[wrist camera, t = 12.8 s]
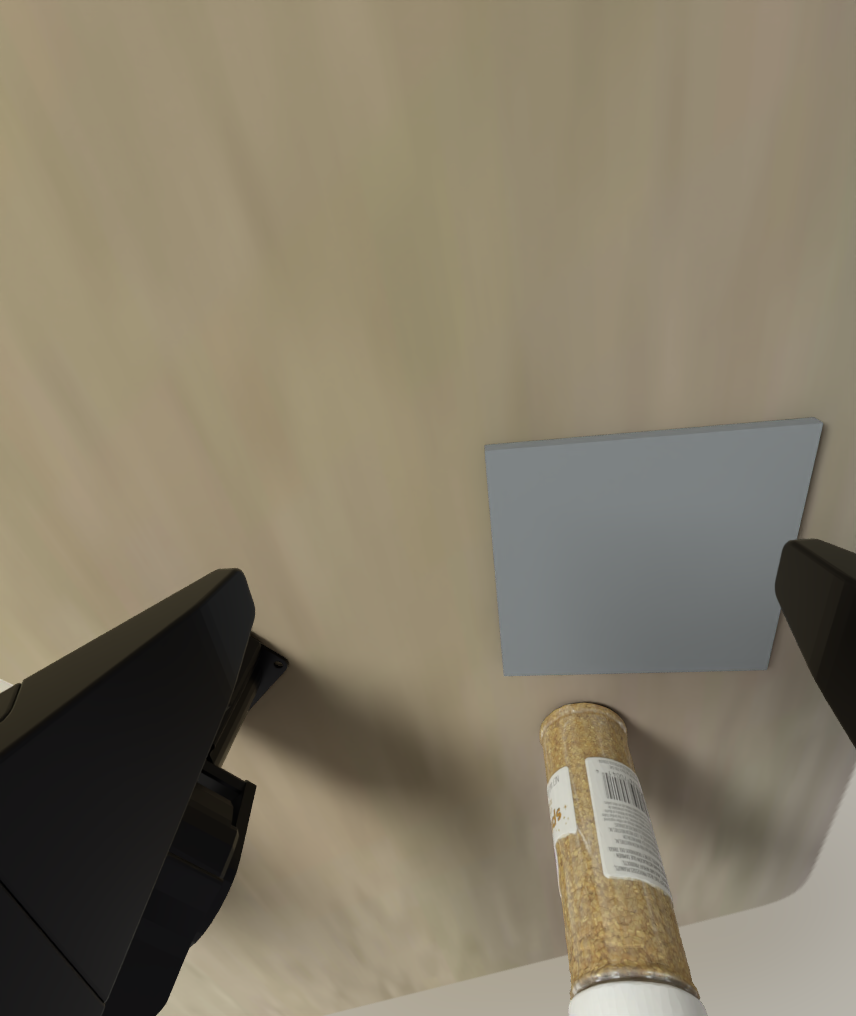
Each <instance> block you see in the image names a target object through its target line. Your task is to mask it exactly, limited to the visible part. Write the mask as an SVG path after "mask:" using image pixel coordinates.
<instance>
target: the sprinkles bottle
mask: <svg viewBox="0 0 856 1016" xmlns="http://www.w3.org/2000/svg"><path fill="white" fill-rule="evenodd" d="M540 743H541V745H542V746H543V750H544V759H545V766H546V775H547V784H548V786H547V795H548V802H549V810H550V818H551V825H552V834H553V842H554V851H555V860H556V868H557V876H558V885H559V892H560V897H561V900H562V906H563V915H564V922H565V935H566V943H567V950H568V958H569V970H570V973H571V984H572V986H571V991H570V996H571V998H570V999H571V1001H570V1004H569V1008H568V1011H569V1016H707V1013H706V1009H705V1007H704V1005H703V1004H702V1002H701V1001H700V1000H699V999H700V996H699V994H698V991H697V988H696V987H695V986H694V984H693V982H692V978H691V975H690V969H689V966H688V963H687V959H686V956H685V951H684V948H683V944H682V940H681V938H680V934H679V928H678V925H677V921H676V917H675V913H674V910H673V908H674V907H673V900H672V896H671V893H670V889H669V885H668V882H667V878H666V874H665V871H664V867H663V864H662V860H661V856H660V853H659V849H658V845H657V842H656V838H655V835H654V831H653V827H652V824H651V820H650V817H649V813H648V810H647V806H646V802H645V799H644V795H643V792H642V788H641V785H640V782H639V779H638V777H637V776H636V773H635V769H634V765H633V761H632V757H631V755H630V752H629V748H628V744H627V729H626V726H625V724H624V722H623V720H622V719H621V718H620V717H619V715H617V714H616V713H615V712H613V711H612V710H610V709H608V708H606V707H603V706H600V705H597V704H592V703H576V704H568V705H564V706H563V707H561V708H558V709H556V710H554V711H553V712H552V713H551V714H550V715H549V716H547V717H546V718H545V720H544V722H543V723H542V724H541V728H540Z"/></svg>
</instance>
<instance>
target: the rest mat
mask: <svg viewBox="0 0 856 1016" xmlns="http://www.w3.org/2000/svg"><path fill="white" fill-rule="evenodd" d="M822 427H823V423H822V422H821V421H819V420H818V419H816V418H815V417H812V418H800V419H788V420H776V421H765V422H753V423H741V424H729V425H717V426H705V427H693V428H681V429H669V430H658V431H646V432H634V433H622V434H610V435H598V436H586V437H574V438H562V439H551V440H539V441H527V442H515V443H503V444H491V445H485V461H486V472H487V484H488V496H489V507H490V519H491V531H492V543H493V554H494V566H495V578H496V589H497V601H498V613H499V624H500V636H501V648H502V659H503V671H504V676H530V675H573V674H616V673H660V672H703V671H746V670H767V667H768V663H769V659H770V654H771V650H772V645H773V641H774V637H775V632H776V628H777V624H778V619H779V615H780V610H781V607H780V605H779V602H778V600H777V598H776V594H775V579H776V575H777V570H778V566H779V561H780V557H781V552H782V549H783V546H784V545H785V543H786V542H788V541H789V540H796V539H797V536H798V532H799V527H800V523H801V519H802V514H803V510H804V505H805V501H806V497H807V492H808V488H809V484H810V479H811V475H812V470H813V466H814V462H815V457H816V453H817V448H818V444H819V440H820V435H821V431H822Z"/></svg>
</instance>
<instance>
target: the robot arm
mask: <svg viewBox="0 0 856 1016" xmlns="http://www.w3.org/2000/svg"><path fill="white" fill-rule="evenodd" d="M775 594H776V598H777V600H778V602H779V605H780V607H781V609H782V611H783V613H784V616H785V618H786V620H787V622H788V624H789V626H790V629H791V631H792V633H793V635H794V637H795V640H796V642H797V644H798V646H799V648H800V650H801V653H802V655H803V657H804V659H805V661H806V664H807V666H808V668H809V670H810V672H811V674H812V676H813V678H814V680H815V682H816V683H817V685H818V687H819V689H820V690H821V692H822V694H823V696H824V697H825V699H826V701H827V702H828V704H829V706H830V707H831V709H832V710H833V712H834V714H835V715H836V717H837V719H838V720H839V722H840V724H841V725H842V727H843V729H844V730H845V732H846V734H847V735H848V737H849V739H850V740H851V742H852V743H853V745H854V747H855V748H856V553H853V552H851V551H848V550H845V549H843V548H840V547H838V546H835V545H832V544H830V543H827V542H824V541H822V540H819V539H796V540H789V541H788V542H786V543H785V545H784V546H783V549H782V552H781V557H780V561H779V566H778V570H777V575H776V579H775ZM254 618H255V606H254V602H253V599H252V596H251V593H250V590H249V587H248V584H247V581H246V578H245V575H244V573H243V572H242V570H240V569H238V568H228V569H217V570H215V571H213V572H211V573H210V574H208V575H206V576H204V577H203V578H201V579H199V580H197V581H196V582H194V583H192V584H190V585H189V586H187V587H185V588H183V589H182V590H180V591H178V592H176V593H175V594H173V595H171V596H169V597H168V598H166V599H164V600H162V601H161V602H159V603H157V604H155V605H154V606H152V607H150V608H148V609H147V610H145V611H143V612H141V613H140V614H138V615H136V616H134V617H133V618H131V619H129V620H127V621H126V622H124V623H122V624H120V625H119V626H117V627H115V628H113V629H112V630H110V631H108V632H106V633H105V634H103V635H101V636H99V637H98V638H96V639H94V640H92V641H91V642H89V643H87V644H85V645H84V646H82V647H80V648H78V649H77V650H75V651H73V652H71V653H70V654H68V655H66V656H64V657H63V658H61V659H59V660H57V661H56V662H54V663H52V664H50V665H49V666H47V667H45V668H43V669H42V670H40V671H38V672H36V673H35V674H33V675H31V676H29V677H28V678H26V679H24V680H23V682H22V684H21V683H17V684H15V685H13V686H12V687H10V688H8V689H6V690H5V691H3V692H1V693H0V1016H156V1015H157V1014H158V1013H159V1012H160V1011H161V1010H162V1008H163V1007H164V1006H165V1004H166V1002H167V1001H168V998H169V996H170V993H171V991H172V988H173V986H174V984H175V981H176V979H177V976H178V974H179V971H180V969H181V966H182V964H183V962H184V959H185V957H186V955H187V952H188V950H189V948H190V947H191V946H192V945H193V944H195V943H196V942H197V941H198V940H199V938H200V937H201V936H202V935H203V934H204V932H205V931H206V930H207V928H208V927H209V925H210V924H211V923H212V921H213V919H214V918H215V916H216V914H217V913H218V911H219V909H220V908H221V906H222V904H223V902H224V900H225V898H226V896H227V894H228V892H229V890H230V887H231V885H232V883H233V880H234V878H235V875H236V872H237V869H238V865H239V862H240V858H241V853H242V849H243V844H244V840H245V835H246V831H247V826H248V822H249V817H250V813H251V808H252V804H253V800H254V795H255V791H256V785H255V784H253V783H251V782H249V781H248V780H245V781H243V780H241V779H240V778H238V777H236V776H234V775H233V774H231V773H229V772H227V771H226V770H224V769H222V768H221V767H222V765H223V763H224V761H225V759H226V756H227V754H228V752H229V750H230V748H231V746H232V744H233V742H234V739H235V737H236V735H237V733H238V731H239V729H240V727H241V725H242V722H243V720H244V718H245V716H246V714H247V712H248V711H249V710H250V708H251V707H252V706H253V705H254V704H255V703H256V702H257V701H258V700H259V699H260V698H261V697H262V695H263V694H264V693H265V692H266V691H267V690H268V689H269V688H270V687H271V686H272V685H273V684H274V682H275V681H276V680H277V679H278V678H279V677H280V676H281V675H282V674H283V673H284V672H285V671H286V669H287V667H288V665H289V664H288V661H287V659H286V658H284V657H283V656H281V655H280V654H278V653H276V652H274V651H273V650H271V649H269V648H268V647H266V646H264V645H263V644H261V643H260V642H259V641H258V640H256V639H255V638H253V637H251V636H250V632H251V629H252V625H253V622H254ZM276 661H279V662H281V663H282V664H283V665H282V666H278V665H276V664H275V662H276Z"/></svg>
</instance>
